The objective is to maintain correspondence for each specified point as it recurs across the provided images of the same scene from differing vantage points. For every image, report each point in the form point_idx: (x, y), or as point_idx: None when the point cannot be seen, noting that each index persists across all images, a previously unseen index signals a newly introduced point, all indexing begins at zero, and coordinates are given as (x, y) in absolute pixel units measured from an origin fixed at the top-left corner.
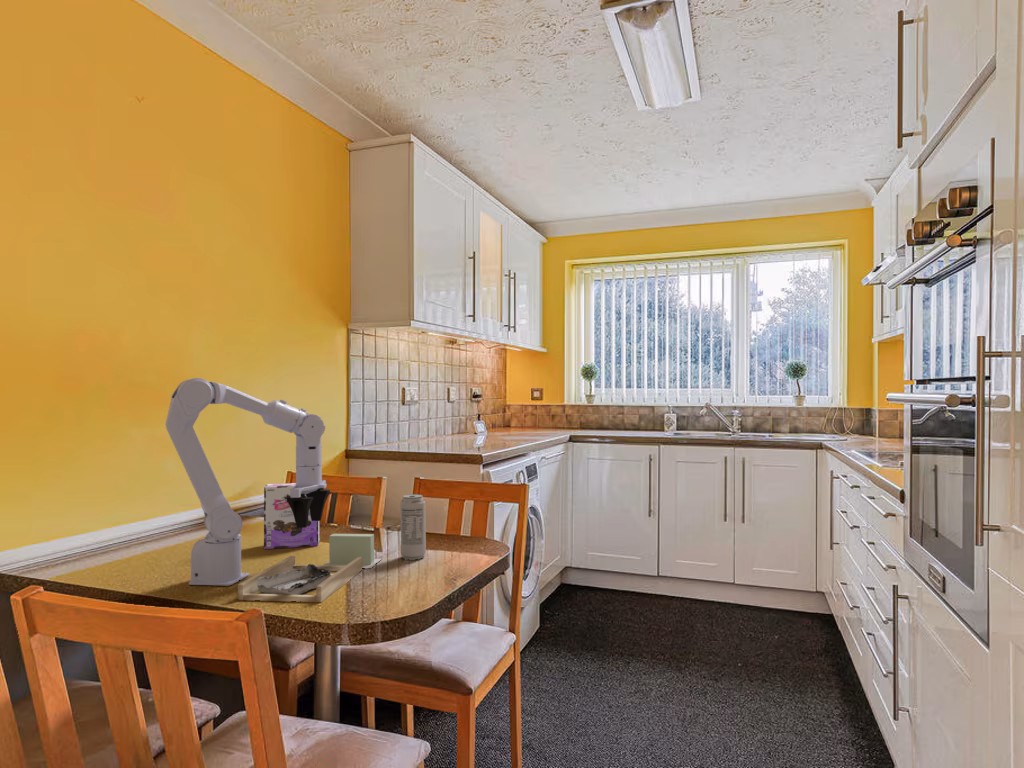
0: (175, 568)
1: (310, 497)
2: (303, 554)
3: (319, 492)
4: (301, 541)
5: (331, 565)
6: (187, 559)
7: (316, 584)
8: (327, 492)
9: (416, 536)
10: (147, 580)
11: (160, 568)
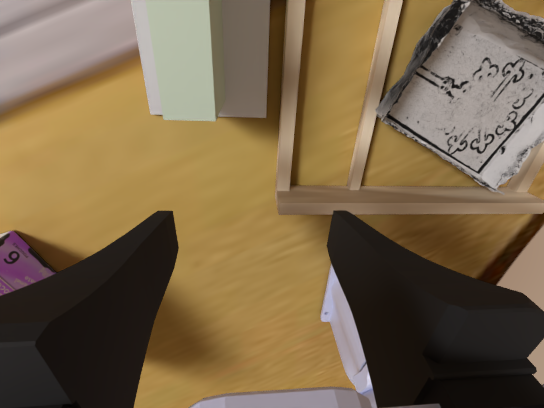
0: (276, 374)
1: (481, 326)
2: (123, 227)
3: (81, 383)
4: (39, 276)
5: (286, 67)
6: (218, 387)
7: (500, 32)
8: (34, 322)
9: None
10: (343, 369)
11: (276, 388)
